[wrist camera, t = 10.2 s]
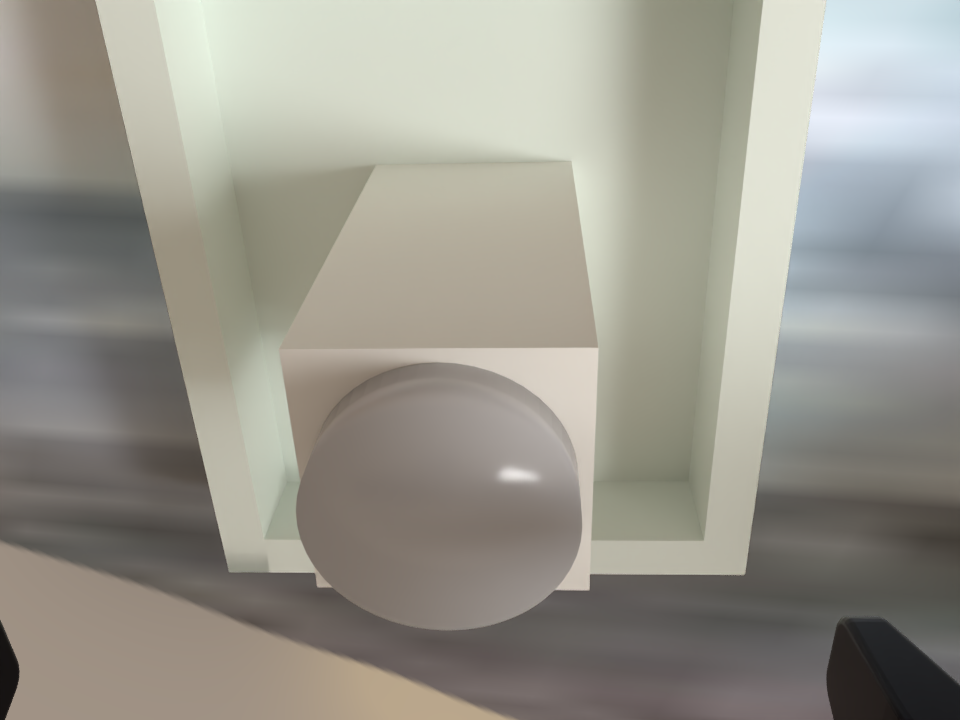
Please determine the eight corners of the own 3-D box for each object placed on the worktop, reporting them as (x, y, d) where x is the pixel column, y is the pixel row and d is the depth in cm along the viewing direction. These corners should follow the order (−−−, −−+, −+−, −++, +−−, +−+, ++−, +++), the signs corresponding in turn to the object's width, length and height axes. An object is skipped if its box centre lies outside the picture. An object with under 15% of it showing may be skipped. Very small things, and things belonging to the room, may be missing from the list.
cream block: (571, 161, 18) (604, 389, 10) (567, 336, 20) (593, 643, 12) (376, 164, 18) (257, 390, 10) (391, 337, 20) (301, 638, 12)
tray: (792, -127, 16) (844, -127, 13) (719, 493, 23) (744, 574, 20) (145, -98, 17) (73, -94, 14) (263, 493, 23) (229, 572, 21)
